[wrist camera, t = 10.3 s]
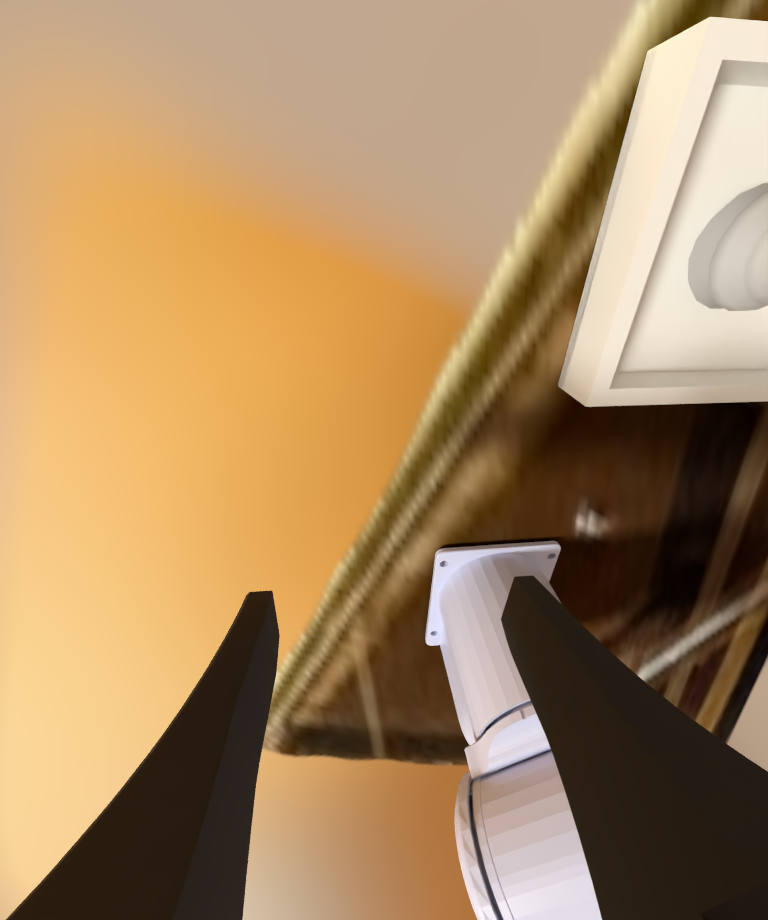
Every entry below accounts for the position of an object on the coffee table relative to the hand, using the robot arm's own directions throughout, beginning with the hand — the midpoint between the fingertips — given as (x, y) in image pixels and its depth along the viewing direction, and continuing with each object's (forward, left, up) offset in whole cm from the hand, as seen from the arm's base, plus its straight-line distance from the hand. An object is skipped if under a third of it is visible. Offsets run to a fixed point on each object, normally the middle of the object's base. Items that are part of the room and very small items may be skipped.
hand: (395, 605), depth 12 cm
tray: (+9, -15, -9) cm, 20 cm away
